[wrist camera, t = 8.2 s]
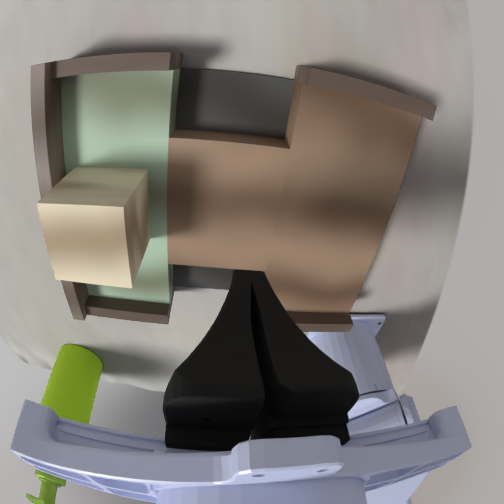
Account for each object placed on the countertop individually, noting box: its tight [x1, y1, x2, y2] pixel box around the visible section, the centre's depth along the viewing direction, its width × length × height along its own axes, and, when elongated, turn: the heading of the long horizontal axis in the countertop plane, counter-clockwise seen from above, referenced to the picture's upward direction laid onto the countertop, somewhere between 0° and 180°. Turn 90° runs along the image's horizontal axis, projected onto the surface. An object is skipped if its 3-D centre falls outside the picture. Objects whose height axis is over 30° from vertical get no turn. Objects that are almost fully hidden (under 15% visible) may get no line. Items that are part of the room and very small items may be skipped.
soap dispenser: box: [26, 344, 103, 504], centre depth 24 cm, size 6×7×20 cm
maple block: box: [37, 167, 150, 288], centre depth 16 cm, size 5×5×5 cm
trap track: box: [31, 52, 436, 332], centre depth 20 cm, size 19×23×4 cm
